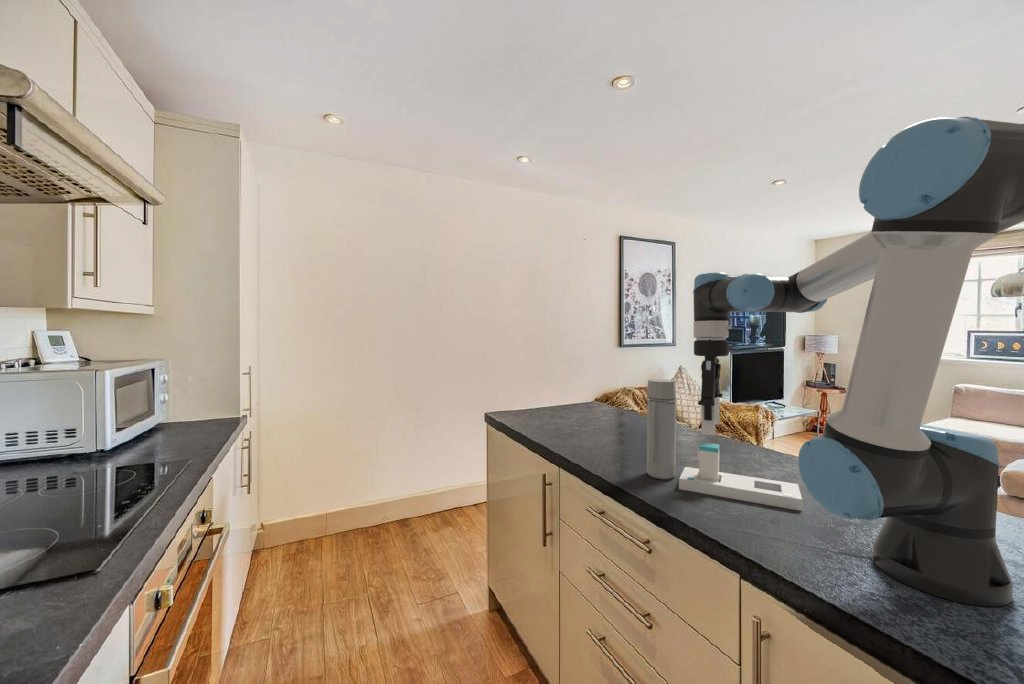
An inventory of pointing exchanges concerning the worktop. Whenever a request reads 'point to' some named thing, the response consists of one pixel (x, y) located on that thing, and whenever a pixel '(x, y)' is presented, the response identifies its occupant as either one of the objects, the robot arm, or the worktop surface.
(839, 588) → the worktop surface
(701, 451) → the plug
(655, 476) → the water bottle
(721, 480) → the panel
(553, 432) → the worktop surface
